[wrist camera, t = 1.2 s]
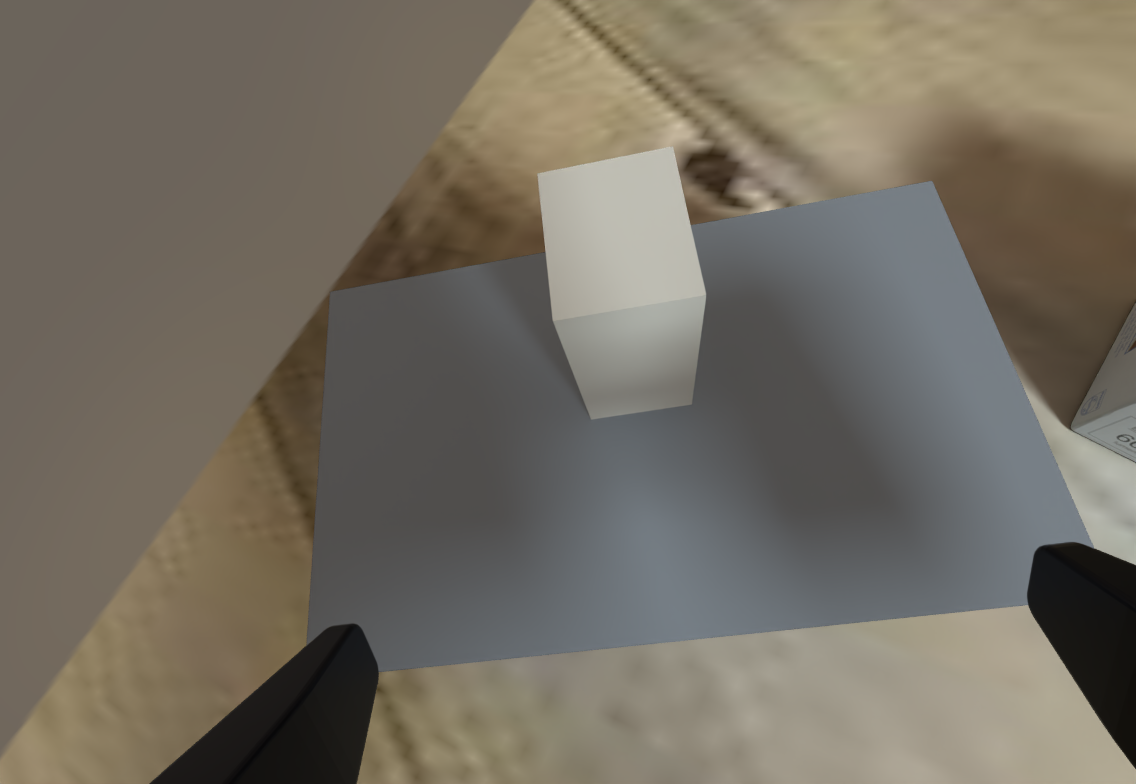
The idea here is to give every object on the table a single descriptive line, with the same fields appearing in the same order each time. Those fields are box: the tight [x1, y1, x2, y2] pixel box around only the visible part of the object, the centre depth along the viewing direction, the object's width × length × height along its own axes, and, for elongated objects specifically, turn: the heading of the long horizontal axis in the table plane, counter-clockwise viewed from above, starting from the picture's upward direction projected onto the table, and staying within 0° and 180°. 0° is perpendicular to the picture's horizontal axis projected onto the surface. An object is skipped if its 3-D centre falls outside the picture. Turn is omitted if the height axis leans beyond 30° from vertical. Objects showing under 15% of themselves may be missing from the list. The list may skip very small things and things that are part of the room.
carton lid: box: [307, 146, 1094, 672], centre depth 11 cm, size 10×16×6 cm, turn 96°
